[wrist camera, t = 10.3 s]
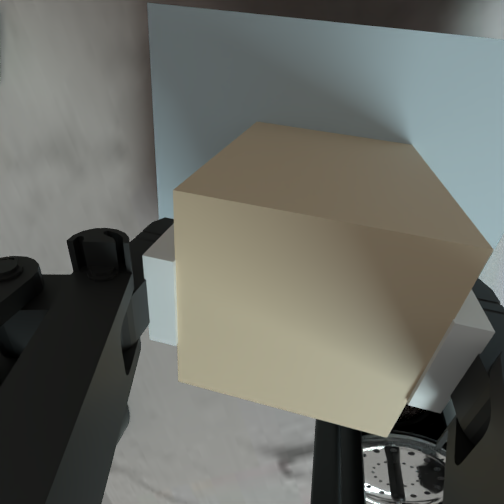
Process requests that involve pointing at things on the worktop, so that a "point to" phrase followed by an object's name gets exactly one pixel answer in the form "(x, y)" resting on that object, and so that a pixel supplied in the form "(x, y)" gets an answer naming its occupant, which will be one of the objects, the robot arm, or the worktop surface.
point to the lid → (322, 201)
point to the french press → (381, 462)
